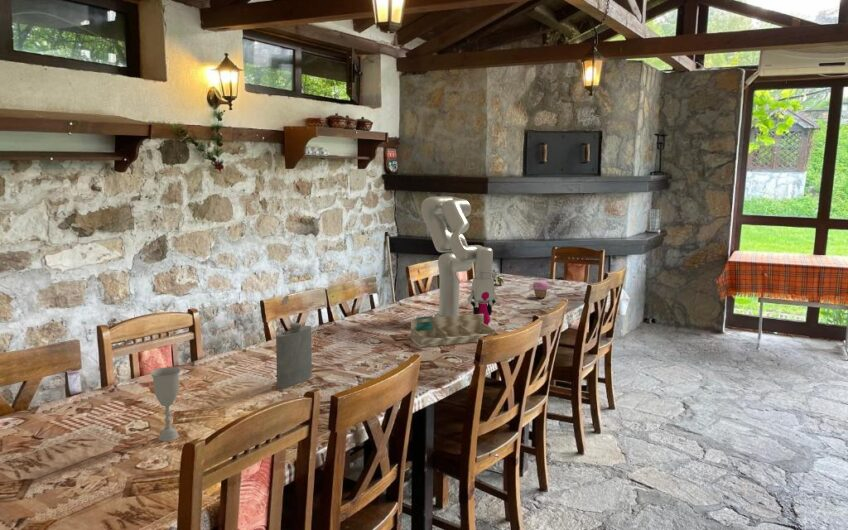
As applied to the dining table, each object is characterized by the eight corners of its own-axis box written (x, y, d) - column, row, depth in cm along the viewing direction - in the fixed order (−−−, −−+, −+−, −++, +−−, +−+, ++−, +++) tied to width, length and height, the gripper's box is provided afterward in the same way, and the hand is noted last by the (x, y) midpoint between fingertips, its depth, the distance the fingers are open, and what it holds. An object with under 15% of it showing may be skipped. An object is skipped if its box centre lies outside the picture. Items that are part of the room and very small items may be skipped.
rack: (420, 347, 255) (421, 324, 253) (410, 339, 266) (411, 317, 264) (494, 340, 267) (495, 318, 265) (482, 333, 278) (482, 312, 276)
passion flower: (488, 293, 394) (478, 277, 395) (496, 288, 402) (486, 272, 403) (501, 285, 387) (490, 269, 388) (509, 280, 395) (498, 264, 396)
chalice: (173, 429, 172) (170, 365, 169) (188, 435, 168) (185, 370, 165) (148, 438, 166) (144, 372, 163) (163, 445, 162) (160, 377, 159)
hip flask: (306, 374, 219) (305, 318, 216) (315, 376, 217) (315, 319, 214) (274, 387, 205) (273, 327, 202) (284, 390, 203) (283, 329, 200)
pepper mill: (489, 331, 281) (490, 287, 278) (472, 330, 282) (474, 286, 279) (490, 327, 288) (492, 284, 285) (475, 326, 289) (476, 283, 286)
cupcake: (550, 297, 359) (551, 279, 357) (544, 299, 351) (545, 282, 350) (535, 295, 363) (536, 278, 362) (529, 297, 356) (530, 280, 355)
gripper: (497, 273, 288) (495, 312, 291) (462, 274, 282) (461, 314, 285) (504, 275, 281) (503, 315, 284) (469, 277, 275) (468, 318, 278)
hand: (482, 314), depth 284 cm, fingers closed on pepper mill, 5 cm apart
